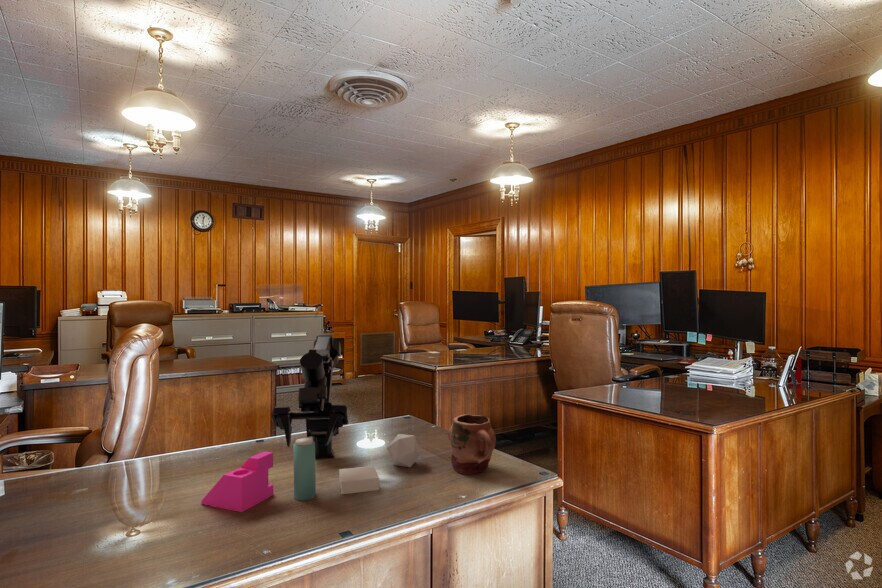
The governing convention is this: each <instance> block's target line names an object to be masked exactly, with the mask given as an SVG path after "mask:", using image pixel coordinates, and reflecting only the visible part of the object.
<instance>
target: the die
mask: <svg viewBox="0 0 882 588" xmlns="http://www.w3.org/2000/svg"><path fill="white" fill-rule="evenodd" d="M386 450H387V452H388V454H389V457H390V459H391V462H392V464H393V466H399V467H406V468H412V466H413V465H414V464H415V462H416V461H418V459H419V458H420V456H421V454H422V449H421V447H420V444H419V442H418V440H417V437H416V435H412V434H402V433H398V434H397V435H396V436H395V437H394V438H393V439H392V441H391V442H390V443H389V444H388V446H387V447H386Z"/></svg>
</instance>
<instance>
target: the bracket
mask: <svg viewBox="0 0 882 588" xmlns="http://www.w3.org/2000/svg"><path fill="white" fill-rule="evenodd" d="M273 467H274V452H272V451H264V450H263V451H262V452H260V453H257V454H255V455H253V456H250V457H249V458H248V459H247V460H246V461H244V463H243V464H242V465H241V467H239V468H236V469H234V470H232V471H229V472H227V473H225V474H223V475H222V476H221V477H220V478H219V480H218V481H217V482H216V483H215V484H214V486H213V487H212V488H211V489H210V491H208V492H207V493H206V495H205V496H204V497H203V499H202V500H201V502H200V504H201V505H202V504H205V505H204V506H207V505H210V506H209V507H213V506H214V507H213V508H218V507H219V509H225V510H229V511H235V512H239V513H243V512H244V511H246V510H249V509H250V508H252V507H254V506H256V505H257V504H260V503H261V502H263V501H265V500H266V499H268V498H270V497H271V496H274V484H272V483H269V469H271V468H273Z"/></svg>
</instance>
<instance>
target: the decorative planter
mask: <svg viewBox="0 0 882 588" xmlns="http://www.w3.org/2000/svg"><path fill="white" fill-rule="evenodd" d="M447 438H448V440H449V442H450V445H451V457H450V459H451V460H450V461H451V465H452V468H453V470H455V472H457V473H460V474H464V475H470V474H478V473H481V472H484V471H486V470H487V469H488V468H489V464H490V461H491V458H492V456H493V451H494V449H495V448H496V444H497V438H496V432H495V431H494V429H493V428H492V424H491V420H490V418H489V417H488V416H487V415H476V414H475V415H474V414H466V413H465V414H461V415H457V416H456V417H454V418H453V420H452V424H451V426H450V428H449V430H448V431H447Z"/></svg>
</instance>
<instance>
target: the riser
mask: <svg viewBox="0 0 882 588" xmlns="http://www.w3.org/2000/svg"><path fill="white" fill-rule="evenodd" d="M338 474H339V475H338V477H339V478H338V482H339V486H340V488H339V489H340V493H341V495H348V494H354V493H364V492H373V491H380V477H379V475H378V472H377V470H376V468H375V465H369V466H360V467H359V466H358V467H349V468H338Z"/></svg>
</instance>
